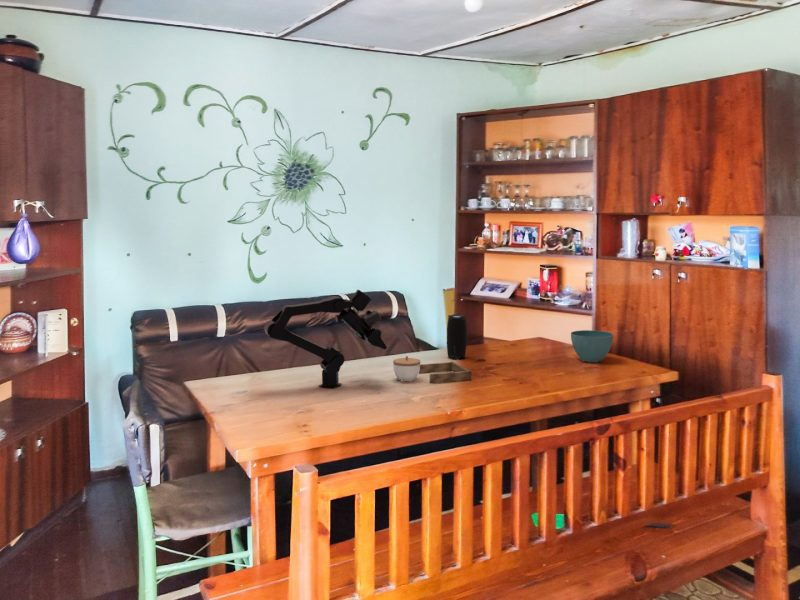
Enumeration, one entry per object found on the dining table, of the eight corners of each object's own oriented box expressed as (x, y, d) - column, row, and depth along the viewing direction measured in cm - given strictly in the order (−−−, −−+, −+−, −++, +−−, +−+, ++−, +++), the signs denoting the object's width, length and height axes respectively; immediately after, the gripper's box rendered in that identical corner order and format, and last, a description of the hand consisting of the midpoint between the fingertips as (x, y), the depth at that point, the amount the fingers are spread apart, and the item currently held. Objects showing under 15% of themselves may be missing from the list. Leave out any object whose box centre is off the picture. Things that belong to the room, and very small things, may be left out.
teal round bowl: (561, 358, 322) (562, 331, 321) (593, 355, 330) (594, 328, 328) (588, 366, 306) (589, 338, 305) (621, 362, 314) (622, 335, 312)
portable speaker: (453, 355, 330) (454, 313, 327) (470, 357, 324) (471, 315, 322) (442, 358, 323) (442, 315, 321) (459, 360, 317) (460, 317, 315)
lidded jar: (421, 376, 288) (421, 353, 287) (419, 383, 277) (419, 359, 276) (394, 376, 289) (394, 353, 288) (391, 382, 278) (391, 359, 277)
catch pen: (430, 383, 277) (430, 374, 276) (414, 373, 294) (414, 365, 293) (471, 380, 282) (471, 371, 282) (452, 370, 299) (452, 362, 299)
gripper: (375, 308, 266) (404, 334, 271) (360, 301, 283) (387, 327, 288) (356, 330, 264) (385, 357, 269) (341, 323, 281) (369, 348, 287)
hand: (382, 346), depth 279 cm, fingers open, 9 cm apart
